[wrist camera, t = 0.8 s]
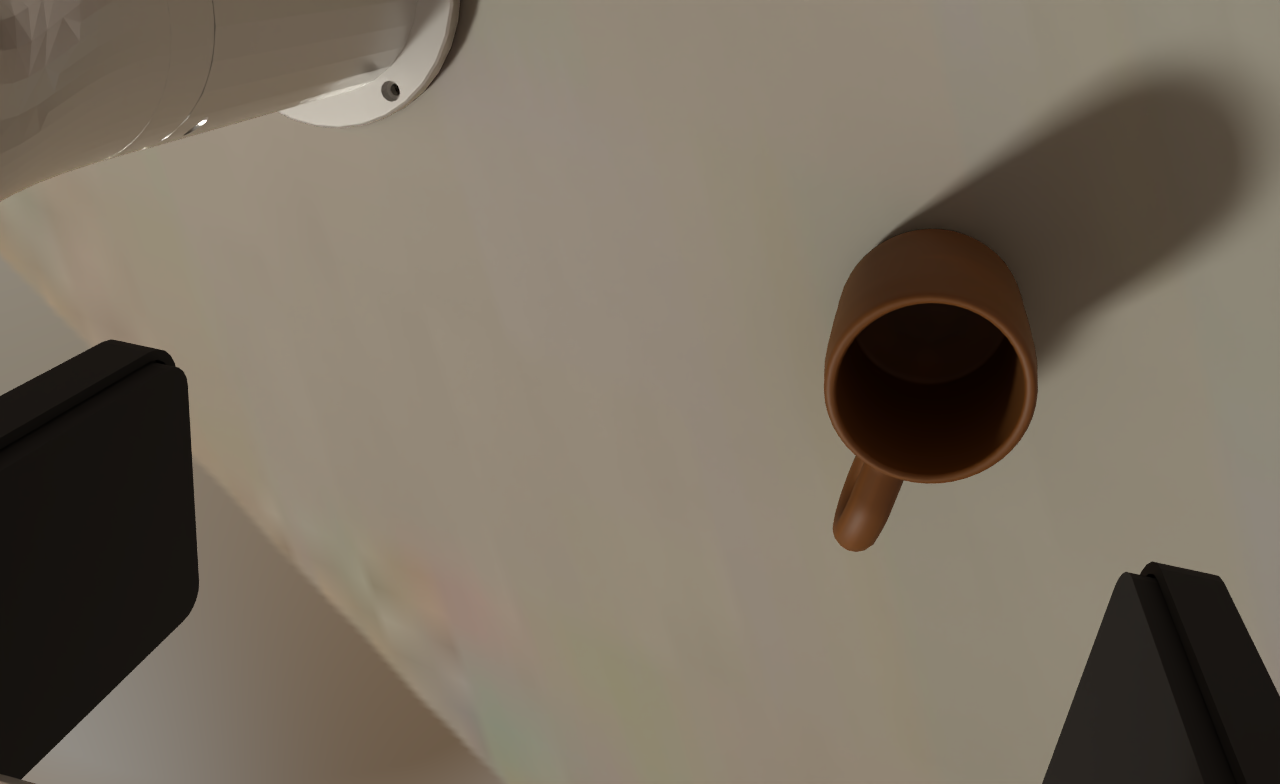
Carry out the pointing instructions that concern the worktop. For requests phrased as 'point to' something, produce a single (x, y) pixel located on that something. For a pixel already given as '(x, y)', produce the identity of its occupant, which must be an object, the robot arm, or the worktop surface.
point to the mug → (925, 371)
